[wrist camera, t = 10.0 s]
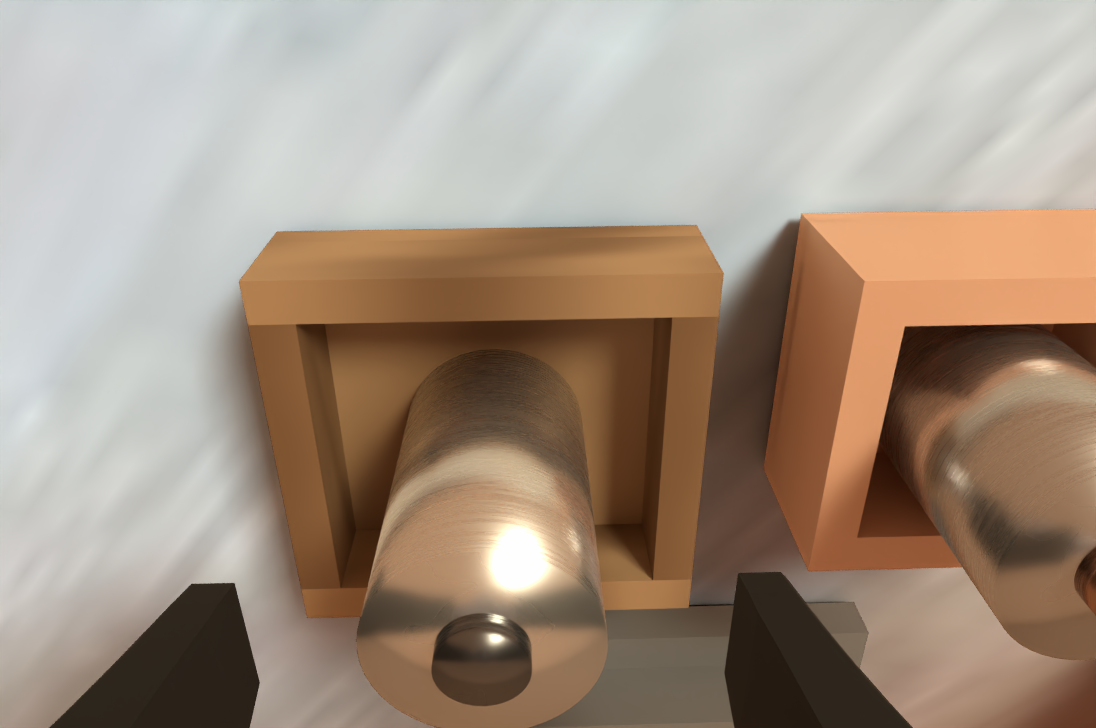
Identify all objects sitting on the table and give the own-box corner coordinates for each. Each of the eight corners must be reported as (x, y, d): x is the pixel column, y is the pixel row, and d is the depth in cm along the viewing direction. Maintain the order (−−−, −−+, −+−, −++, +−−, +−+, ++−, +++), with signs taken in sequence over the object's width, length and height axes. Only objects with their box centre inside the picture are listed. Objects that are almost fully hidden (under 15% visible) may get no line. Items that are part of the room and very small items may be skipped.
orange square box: (1109, 208, 16) (1240, 274, 13) (1024, 463, 19) (1116, 563, 16) (801, 213, 16) (864, 281, 13) (763, 468, 19) (808, 570, 16)
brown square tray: (696, 225, 16) (723, 273, 14) (670, 532, 19) (688, 607, 17) (277, 231, 16) (239, 281, 13) (330, 541, 19) (306, 617, 17)
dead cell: (1047, 279, 16) (1335, 479, 10) (999, 434, 18) (1223, 678, 12) (863, 282, 16) (1052, 485, 10) (833, 438, 18) (980, 685, 12)
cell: (617, 424, 17) (663, 667, 12) (499, 522, 18) (488, 788, 13) (491, 314, 16) (472, 527, 10) (372, 428, 17) (297, 676, 11)
